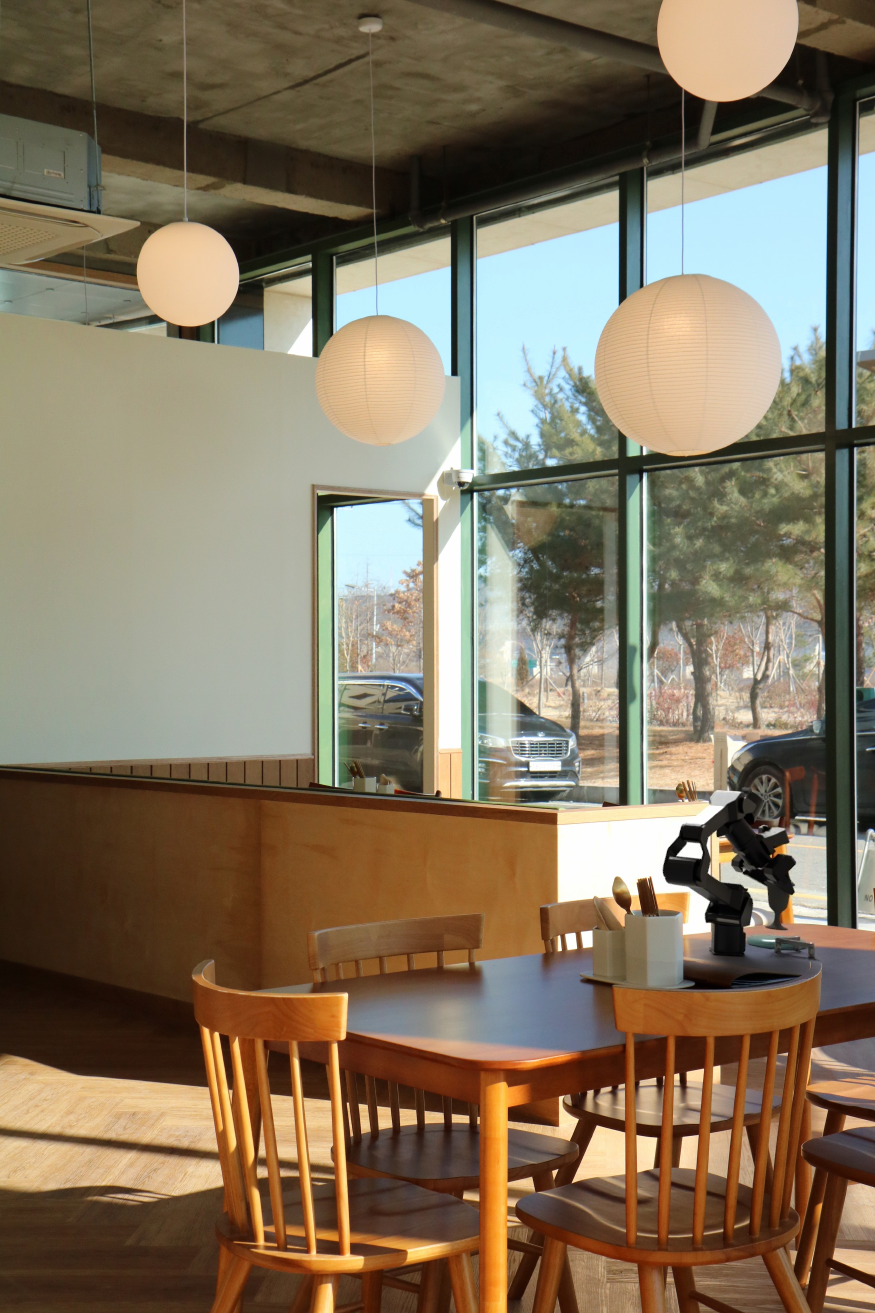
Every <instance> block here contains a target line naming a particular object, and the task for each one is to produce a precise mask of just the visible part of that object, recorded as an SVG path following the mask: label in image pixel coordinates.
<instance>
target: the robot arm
mask: <svg viewBox="0 0 875 1313" xmlns="http://www.w3.org/2000/svg"><path fill="white" fill-rule="evenodd" d="M708 798H709V802H708V803H709V805H708V806H707V807H705V808H704V809H703V810H702V811H700V812H699V813H698V814H697V815H695V816H694V817H693V818H691V819H690V820H689V821H688V822H685V823H682V824H681V826H680V829H679V832H678V835H677V837H676V838H675V840H674V841H672V843H671V844H670V845H669V846H668V848H667V850H666V853H665V857H664V860H663V864H662V874H663V877H664V880H665V881H666V883H667V884H669V885H673V886H680V887H686V888H689V889H691V890H692V891H693V892H695V893H696V894H698V895H699V896H701V897H702V898H704V899H706V901H709V903H708V905H707V907H706V910H705V913H704V921H705V924H711V939H710V940H711V946H710V947H709V950H710V952H712V953H713V954H714V955H722V956H723V955H724V956H746V955H745V953H746V947H747V946H746V944H747V933H746V932H745V931H744V930H745V929H744V928H746V927H749V926H750V925H751V922H752V916H753V910H754V900H753V897H752V895H751V894H750V892H749V888H746V887H745V886H744V885H743V884H741V883H734V882H726V881H720V880H719V879H717V878H716V877H714V876H712V875H711V874H710V873H709V870H710V867H711V866H710V865H711V862H712V857H711V854H710V852H709V849H708V842H709V841H708V840H709V837H711V835H713V834H715V835H716V838H721V837H725V838H726V840H727V841H728V842H729V843H730V845H731V846H732V847H733V848H732V849H731V851H732V852H733V853H734V854H736V855H735V856H734V857H732V859H731V863H730V864H731V867H732V869H733V870H734V871H735V872H737V873H741V874H742V875H743V876H746V877H747V878H749V879H751V880H754V881H755V882H757V883H759V884H761V885H763V886H765V887H766V888H767V885H766V884H765V883H764V881H769V882H771V883H772V884H774V885H775V886H777V887H779V888H780V889H782V890H783V891H785V892H786V893H788V894H790V896H793V895H795V892H796V891H795V889H794V888H795V887H794V886H793V885H792V882H793V881H792V882H791V880H792V879H791V877H790V873H789V872H790V871H791V870H792V869H793V867H795V866H796V865H797V861H796V860H795V858H794V857H793V856H792V855H790V854H787V853H777V854H776V855H775V856H774V857H772V856H773V855H774V854H775V853H776V852H777V850H776V849H777V848H779V847H781V846H784V845H788V844H790V839H789V835H788V833H787V830H786V828H783V827H779V826H777V827H776V826H775V827H770V826H769V825H765V824H763V825H761V826H758V828H757V830H758V832H756V831H755V830H754V829H753V828H752V827H751V826H752V825H754V824H755V822H756V820H757V818H758V817H759V814H760V813H761V811H762V808H763V806H764V800H763V799H762V798H761V797H760V795H759V794H758V793H756V792H754V791H753V790H752V787H742V788H741V790H740V791H737V790H736V791H734V790H721V789H720V790H719V789H717V790H714V792H713V793H712V795H711V796H710V797H708ZM688 843H692V844H699V845H700V849H701V851H702V855H701V858H700V857H699V858H697V857H687V856H679V854H680V852H681V851H682V850H683V849H684V848H685V847H686V846H687V844H688Z"/></svg>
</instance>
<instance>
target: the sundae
mask: <svg viewBox="0 0 875 1313" xmlns="http://www.w3.org/2000/svg"><path fill="white" fill-rule="evenodd" d="M791 882H792V885H793V887H796V884H795V883H794V882H793V881H792V879H791ZM764 883H765V884H766V885H767V887H766V889H767V902H768V907H769V908H770V909H771V911H772V912H773V913H774V917H773V918H774V919H773V922H772V923H771V924H768V925H765V926H764V928H766V929H769V930H774V931H789V929H788V927H785V926H783V924H782V923H781V914H782V913H783V912H785V911H786V909H787V908H788V906H789V903H790V902H789V901H790V896H791V895H790V894H788V893H786V892H785V891H783V890H782V889H780V888H779V887H777V886H775V885H774V884H772V883H771V882H769V881H764Z"/></svg>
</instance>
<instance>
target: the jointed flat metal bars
mask: <svg viewBox="0 0 875 1313" xmlns="http://www.w3.org/2000/svg"><path fill="white" fill-rule="evenodd" d="M800 939H801V936H800V935H799V936H798V935H797V936H795V935H793V936H787V937H781V938H775V949H774V952H775V953H779V954H780V953H782V949H781V944H786V945H793V946H794V949H793V951H796V952H800V951H801V949H800V947H805V948H806V949H807V958H810V959H815V958H816V954H815V953H816V948H815V942H808V941H805V942H802V941H800ZM805 948H804V949H805Z"/></svg>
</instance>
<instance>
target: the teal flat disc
mask: <svg viewBox="0 0 875 1313" xmlns="http://www.w3.org/2000/svg"><path fill="white" fill-rule="evenodd" d="M781 937H788V936H787V935H786V936H785V935H778V934H777V935H775V934H752V935H746V944H748V945H751V946H754V947H759V948H765V949H766V948H767V949H774V950H775V938H781ZM800 941H802V942H806V940H804V939H801V938H800ZM801 949H802V950H803V949H805V947H800V950H801ZM781 950H794V946H793V945H786V944H781Z"/></svg>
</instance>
